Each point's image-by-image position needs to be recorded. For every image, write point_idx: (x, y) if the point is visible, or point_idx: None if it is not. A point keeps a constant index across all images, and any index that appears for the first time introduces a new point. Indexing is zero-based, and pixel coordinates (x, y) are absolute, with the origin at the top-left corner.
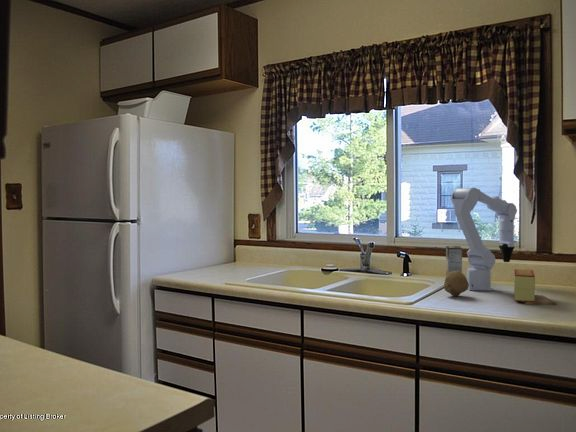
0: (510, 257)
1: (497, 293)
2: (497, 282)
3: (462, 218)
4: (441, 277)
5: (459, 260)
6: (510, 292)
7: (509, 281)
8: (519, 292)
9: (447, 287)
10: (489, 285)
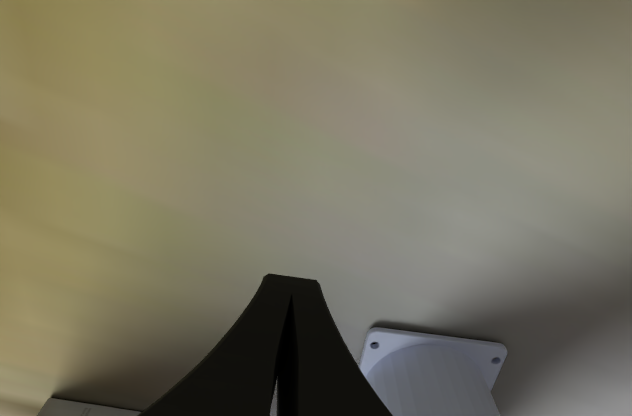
0: (335, 325)
1: (587, 348)
2: (115, 171)
3: None
4: None
5: None
6: (584, 258)
7: (33, 25)
8: None
9: None
10: (484, 383)
